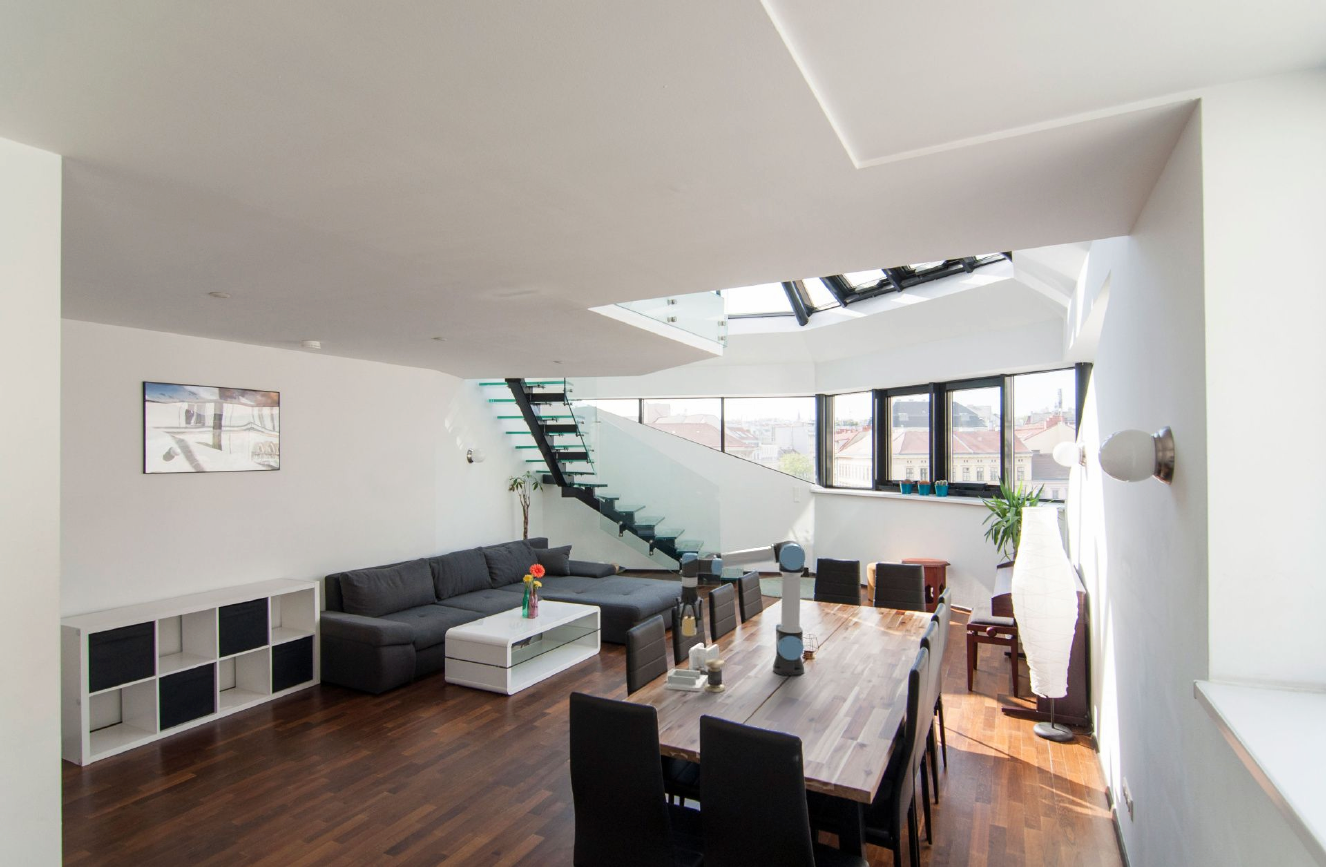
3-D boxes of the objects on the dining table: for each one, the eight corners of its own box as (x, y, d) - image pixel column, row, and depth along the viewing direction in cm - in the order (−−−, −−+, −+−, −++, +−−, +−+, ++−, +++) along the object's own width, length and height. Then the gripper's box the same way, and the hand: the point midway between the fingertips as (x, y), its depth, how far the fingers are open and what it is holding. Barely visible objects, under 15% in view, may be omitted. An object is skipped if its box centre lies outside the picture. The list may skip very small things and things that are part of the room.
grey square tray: (708, 678, 320) (708, 669, 320) (699, 691, 303) (699, 681, 303) (675, 676, 325) (675, 666, 325) (665, 688, 307) (665, 678, 307)
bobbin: (726, 686, 309) (726, 660, 309) (722, 693, 300) (722, 666, 301) (707, 684, 312) (707, 658, 312) (703, 691, 303) (702, 664, 303)
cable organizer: (707, 675, 325) (707, 651, 325) (688, 672, 330) (687, 648, 330) (719, 666, 338) (719, 643, 339) (700, 664, 343) (700, 641, 343)
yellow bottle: (695, 633, 325) (695, 612, 325) (693, 636, 320) (693, 615, 321) (685, 632, 326) (685, 612, 327) (682, 635, 322) (683, 614, 322)
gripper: (709, 585, 325) (709, 633, 324) (673, 582, 330) (673, 630, 330) (705, 588, 318) (705, 637, 317) (669, 585, 323) (669, 634, 322)
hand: (689, 633), depth 323 cm, fingers closed on yellow bottle, 5 cm apart
